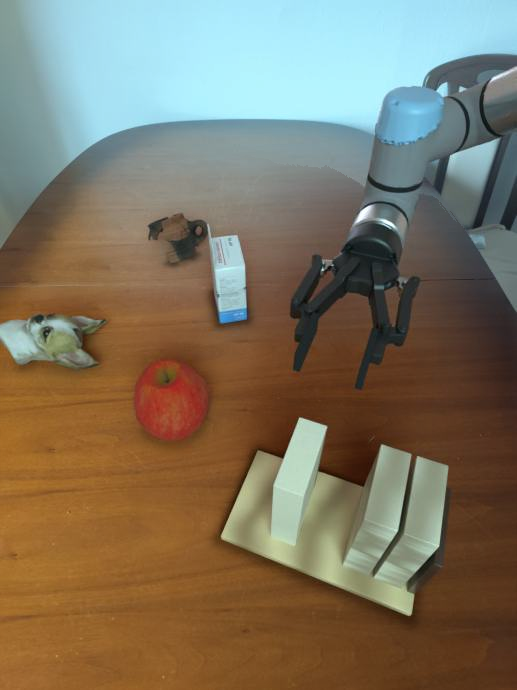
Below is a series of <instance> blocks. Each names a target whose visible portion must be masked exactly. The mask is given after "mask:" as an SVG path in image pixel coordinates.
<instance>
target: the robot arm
mask: <svg viewBox="0 0 517 690" xmlns="http://www.w3.org/2000/svg"><path fill="white" fill-rule="evenodd" d="M514 133H517V65H516V66H514V67H511V68H509V69H507V70H505V71H503V72H500V73H498V74H497V75H494V76H493V77H491V78H488V79H486V80H484V81H481V82H479V83H478V84H475V85H472V86H470V87H469V88H466V89H464V90H461V91H458V92H456V93H452V94H450V95H446V96H442V94H441V93H440V92H438V91H436V90H435V89H432V88H430V87H426V86H420V85H411V86H405V85H403V86H398V87H395V88H393V89H390V90H389V91H388V92H387V93H385V95H384V97H383V99H382V101H381V105H380V110H379V113H378V117H377V121H376V123H375V126H374V138H373V144H372V149H371V154H370V159H369V160H370V161H369V165H368V166H369V168H368V172H367V177H366V181H365V186H364V190H363V191H364V192H363V197H362V201H361V203H360V207H359V210H358V212H357V214H356V216H355V219H354V221H353V223H352V225H351V226H350V229H349V232H348V235H347V236H346V238H345V241H344V243H343V246H342V248H341V250H340V252H339V254H337V255H336V256H334V257H333V258H332V259H323V257H322V255H321V254H320V253H314V254H312V256H311V263H310V264H311V265H310V268H309V269H308V270H307V273H306V274H305V276H303V278H302V281H301V282H300V284H299V286H298V287H297V288H296V290H295V292H294V294H293V295H292V297H291V298H290V307H289V310H290V311H289V317H290V318H291V319H293V320H298V322H297V323H296V327H295V329H294V338H293V339H294V343H298V345H297V347H296V349H295V350H294V354H293V366H292V371H294V372H298V373H300V372H301V370H302V368H303V365H304V363H305V360H306V359H307V356H308V353H309V351H310V349H311V347H312V344H313V342H314V339H315V337H316V334H317V332H318V327H319V326H318V325H319V319H320V318H322V316H323V315H324V314H325V313H326V312H327V311H328V310H329V309H330V308H331V307H332V306H333V305H335V303H336V302H337V301H338V300H339V299H343V298H344V297H345V296H346V295H347V294H348V293H349V294H358V295H360V296H362V297H366V298H367V300H368V306H369V308H370V311H371V312H370V313H371V319H372V320H371V321H372V327H371V330H370V334H369V336H368V340H367V343H366V346H365V350H364V353H363V356H362V360H361V363H360V366H359V369H358V373H357V377H356V381H355V384H354V389H356V390H358V391H362V390H363V387H364V385H365V384H364V383H365V380H366V377H367V373H368V371H369V367H370V364H373V365H376V366H379V365H381V363H382V362H383V359H384V355H385V351H386V349H387V346H388V345H391V344H392V345H393V346H395V347H398V348H401V347H402V346H404V344H405V342H406V338H407V335H408V332H409V331H410V323H411V315H412V309H413V308H412V306H413V300H414V298H415V297H416V295H417V292H418V289H419V286H420V283H421V278H420V277H418V276H416V275H413V276H410V277H409V278H406V277H403V276H402V275H401V273H400V270H399V265H400V261H401V257H402V253H403V250H404V248H405V247H404V246H405V243H406V240H407V237H408V233H409V228H410V225H411V222H412V219H413V216H414V213H415V212H416V209H417V205H418V202H419V201H418V200H419V195H420V192H421V188H422V185H423V182H424V178H425V174H426V171H427V168H428V165H429V164H431V163H432V162H435V161H438V160H440V159H444V158H447V157H450V156H452V155H454V154H457V153H459V152H462V151H463V152H464V151H465V150H469V149H472V148H474V147H478V146H480V145H484V144H488V143H491V142H492V141H495V140H498V139H502V138H504V137H506V136H509V135H512V134H514ZM329 272H331V273H332V274H333V276H334V278H333V279H331V281H330V282H328V284H326V285H325V286H324V287H323V288H322V289H321V290H320V291H319V292H318V293H317V294H316V295H314V297H312V296H313V294H314V293H315V291H316V289H317V288H318V286H319V284H320V281H321V279H324V278H325V275H327V274H328V273H329ZM394 287H396V288H397V290H396V291H397V294H398V298H399V301H398V305H397V311H396V318H395V324H394V326H393V322H391V320H390V315H389V314H390V313H389V310H388V304H387V299H386V298H387V297H386V291H388V290H390V289H392V288H394Z"/></svg>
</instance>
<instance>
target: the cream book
mask: <svg viewBox="0 0 517 690" xmlns="http://www.w3.org/2000/svg"><path fill="white" fill-rule="evenodd" d="M328 428H329V426H328V425H326V424H323V423H319V422H316V421H313V420H310V419H307V418H304V417H301V416H299V417H298V419H297V422H296V425H295V427H294V430H293V433H292V436H291V438H290V441H289V443H288V446H287V449H286V451H285V454H284V456H283V458H282V459H283V461H282V464H281V467H280V469H279V472H278V474H277V477H276V480H275V482H274V485H273V501H272V519H271V537H272V538H275V539H277V540H280V541H282V542H285V543H287V544H290V545H292V546H295V545H296V541H297V538H298V535H299V532H300V529H301V526H302V523H303V520H304V517H305V513H306V510H307V507H308V504H309V501H310V498H311V495H312V492H313V489H314V487H315V483H316V479H317V474H318V471H319V469H320V464H321V459H322V455H323V450H324V447H325V446H324V445H325V441H326V438H327V437H326V436H327V432H328Z"/></svg>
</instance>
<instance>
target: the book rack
mask: <svg viewBox="0 0 517 690" xmlns="http://www.w3.org/2000/svg"><path fill="white" fill-rule="evenodd" d="M412 456H413V455H412V453H410V452H407V451H404V450H401V449H398V448H394V447H392V446H388V445H386V444H382V443H381V444H380V446H379V449H378V451H377V453H376V456H375V458H374V461H373V464H372V466H371V468H370V471H369V473H368V476H367V478H366V480H365V482H364V485H363V486H362V485H359V484H356V483H353V482H350V481H347V480H344V479H342V478H339V477H336V476H333V475H330V474H328V473H325V472H322V471H319V470H318V474H317V479H316V483H315V487H314V489H313V492H312V495H311V498H310V501H309V504H308V507H307V510H306V513H305V517H304V520H303V523H302V526H301V529H300V532H299V535H298V538H297V541H296V545H295V546H292V545H290V544H287V543H285V542H282V541H280V540H277V539H275V538H272V537H271V519H272V501H273V485H274V482H275V480H276V477H277V474H278V472H279V469H280V467H281V464H282V461H283V459H284V458H282V457H279V456H276V455H274V454H270V453H268V452H264V451H262V450H259V449H258V450H257V451H256V454H255V455H254V458H253V460H252V462H251V465H250V467H249V469H248V471H247V475H246V477H245V479H244V481H243V483H242V486H241V488H240V491H239V493H238V495H237V497H236V499H235V502H234V504H233V507H232V509H231V512H230V513H229V516H228V518H227V521H226V523H225V525H224V528H223V530H222V532H221V534H220V539H221V540H222V541H224V542H228V543H230V544H232V545H235V546H236V547H240V548H242V549H244V550H247V551H249V552H252V553H254V554H256V555H259V556H262V557H264V558H266V559H269V560H271V561H274V562H276V563H278V564H282V565H283V566H285V567H288V568H290V569H293V570H296V571H298V572H301V573H302V574H305V575H308V576H310V577H312V578H315V579H317V580H320V581H322V582H324V583H327V584H329V585H331V586H335V587H337V588H339V589H342V590H344V591H346V592H349V593H352V594H354V595H356V596H359V597H361V598H364V599H366V600H369V601H370V602H373V603H376V604H378V605H381V606H383V607H385V608H388V609H390V610H393V611H396V612H397V613H401V614H402V615H405V616H408V617H410V616H412V615H413V607H414V600H415V595H416V594H417V593H418V592H419V591H420V590H421V589H422V588H423V587H424V586H425V585H426V584H427V583H428V582H429V581H431V579H432V578H434V576H436V575H437V574H438V573H439V572H440V571H441V570H442V569H443V568H444V562H445V552H446V544H447V543H446V542H447V533H448V525H449V516H450V505H451V499H452V498H451V497H452V488H450V487H447V484H448V476H449V475H448V473H449V465H447V464H444V463H441V462H438V461H434V460H433V459H432V460H431V459H429V458H426V457H422V456H420V455H417V456H416V457H415V459H414V461H413V463H412V464H411V460H412Z"/></svg>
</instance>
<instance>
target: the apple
mask: <svg viewBox="0 0 517 690" xmlns="http://www.w3.org/2000/svg"><path fill="white" fill-rule="evenodd" d="M134 387H135V388H134V391H133V407H134V413H135V418H136V420H137V422H138V423H139V425H140V426H141V428H142V429H143V430H144V431H145V432H147V433H148V434H149V435H151V436H152V437H154V438H156V439H159V440H161V441H166V442H167V441H168V442H175V441H180V440H185V439H187V438H189V437H190V436H192V434H194V433H196V432H197V431H198V430H199V429H200V428H201V426H202V425H203V423H204V422H205V419H206V417H207V415H208V412H209V408H210V404H211V397H210V396H211V395H210V394H211V393H210V385H208V383H207V380H206V379H205V378H204V376H203V375H202V374H200V372H198V371H197V370H196V369H195V368H193V367H192V366H190V365H188V364H187V363H185V362H183V361H181V360H178V359H172V358H170V359H169V358H166V359H162V360H156V361H154V362H152V363H150V364H149V365H147V367H146V368H145V369H144V370H143V371H142V373H141V374H140V375H139V377H138V379H137V380H136V383H135V386H134Z"/></svg>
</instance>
